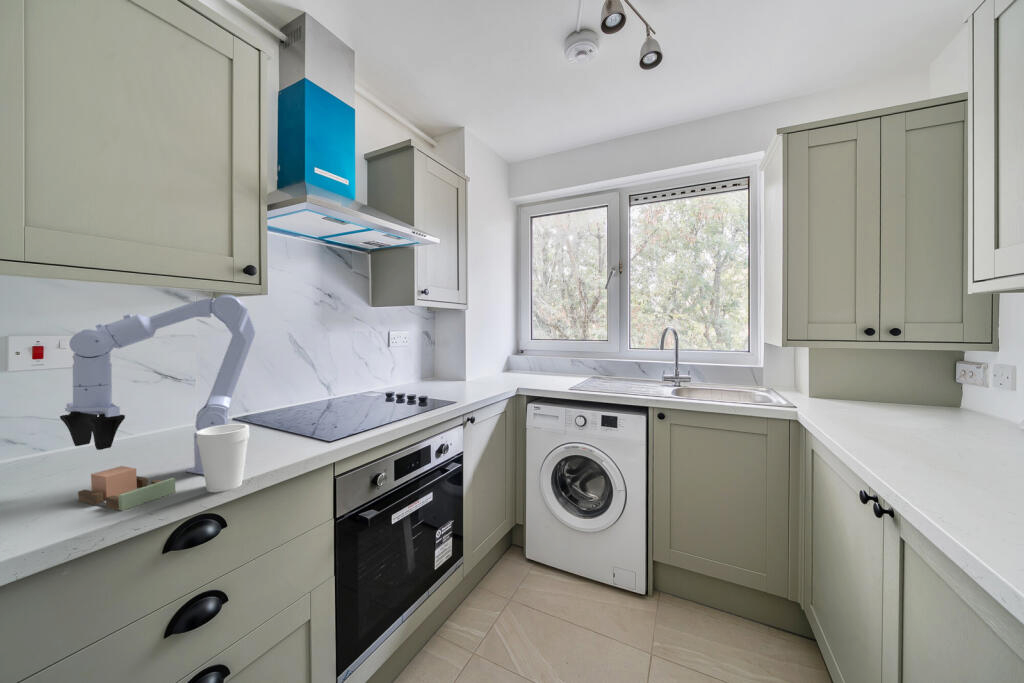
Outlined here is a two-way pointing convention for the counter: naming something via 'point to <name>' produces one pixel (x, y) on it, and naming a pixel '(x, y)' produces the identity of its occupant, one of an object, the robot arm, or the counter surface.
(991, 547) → the counter surface
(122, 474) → the terracotta block
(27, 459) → the counter surface
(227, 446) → the foam cup
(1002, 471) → the counter surface
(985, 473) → the counter surface
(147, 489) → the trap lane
